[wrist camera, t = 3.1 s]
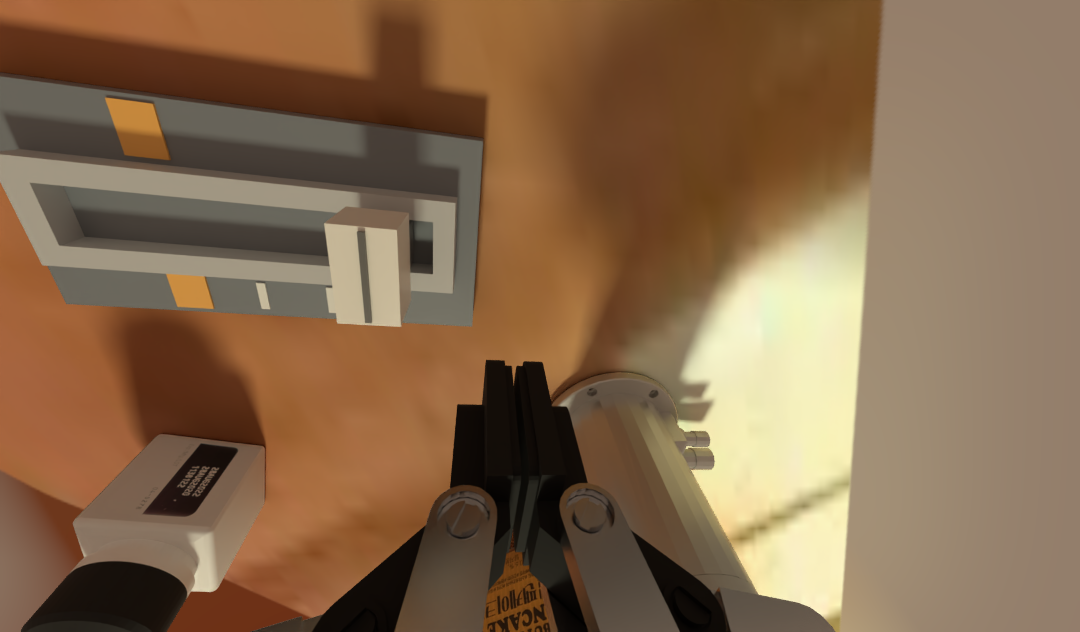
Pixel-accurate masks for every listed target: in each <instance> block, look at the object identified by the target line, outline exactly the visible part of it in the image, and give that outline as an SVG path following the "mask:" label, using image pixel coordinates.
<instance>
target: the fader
mask: <svg viewBox="0 0 1080 632" xmlns="http://www.w3.org/2000/svg"><path fill="white" fill-rule="evenodd" d="M324 226H325V234H326V242H327V249H328V257H329V265H330V272H331V280H332V288H333V295H334V303H335V311H336V318H337V323H341V324H359V325H378V326H396V327H401V325H402V322H403V320H404V317H405V315H406V312H407V309H408V307H409V304H410V301H411V279H410V268H411V266H412V264H413V261H414V245H413V220H409V213H407V212H397V211H387V210H377V209H367V208H358V207H348V206H346V207H345V208H343V209H342V210H341V211H339V212H338V213H337V214H335V215H334V216H333V217H332V218H330V219H329V220H328V221H326V222H325V223H324Z"/></svg>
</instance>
